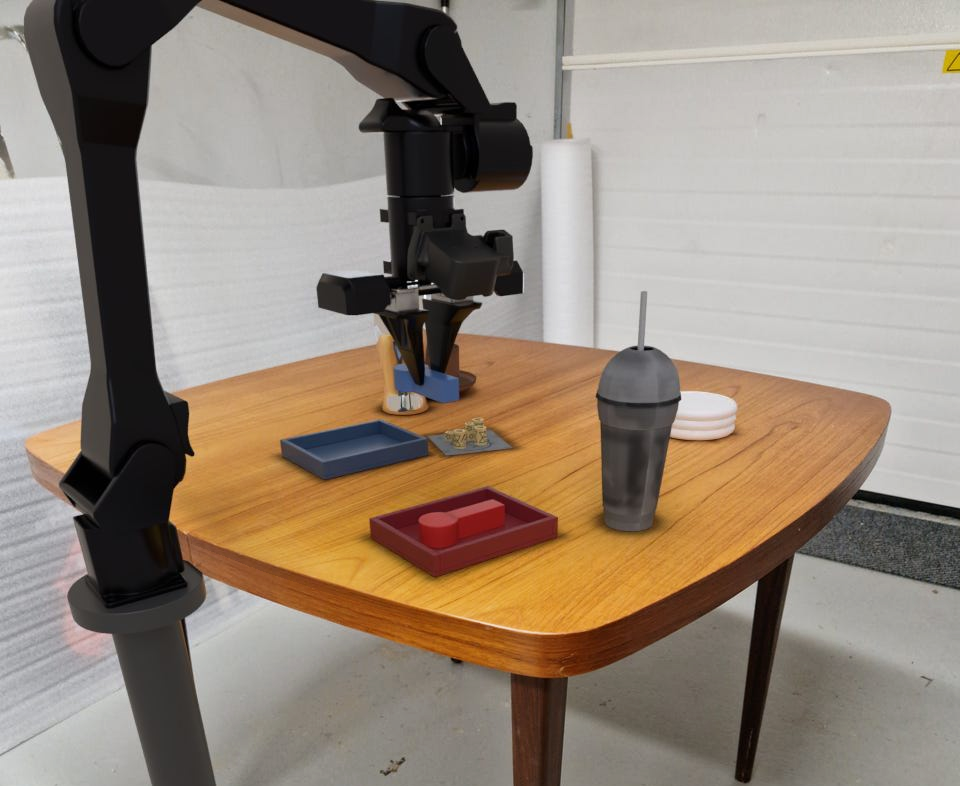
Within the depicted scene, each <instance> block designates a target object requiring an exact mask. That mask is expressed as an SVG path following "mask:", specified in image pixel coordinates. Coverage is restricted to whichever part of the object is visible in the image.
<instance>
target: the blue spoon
mask: <svg viewBox="0 0 960 786" xmlns="http://www.w3.org/2000/svg"><path fill="white" fill-rule="evenodd" d="M393 373H394V388H395V390H397V391H401V392H413V393H416V394H419V395H422V396H425V397H427V399H431V400H433V401H436V402H439V403H442V404H447V403H451V402H457V401H459V400H460V393H459V378H456V377H453V376H450V375H447V374H444V373H440V372H437V371H434V370H431V369H429V366H428V365H426V364H425V376H424V385H422V386H419V385H416V384H415V383H414V381H413V379H412V377H411V375H410V373H409V370H408V368H407V366H406V364H399V365H396V366H394V367H393Z"/></svg>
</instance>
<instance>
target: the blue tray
mask: <svg viewBox="0 0 960 786" xmlns="http://www.w3.org/2000/svg"><path fill="white" fill-rule="evenodd" d="M279 444H280V451H281V456H282V457H283V458H285V459H286V460H289V461H290V462H292V463H293V464H295V465H297V466H299V467H301V468H303V470H305V471H307V472H309V473H312V474H313V475H315V476H317V477H318V478H320V479H322V480H324V481H325V480H329V479H334V478H338V477H342V476H346V475H350V474H355V473H360V472H362V471H368V470H371V469H376V468H381V467H384V466H388V465H389V466H390V465H392V464H396V463H401V462H406V461H409V460H413V459H417V458H423V457H426V456H429V455H430V451H429V438H428V437H425V436H423V435H420V434H418V433H415V432H413V431H411V430H408V429H405V428H403V427H401V426H398V425H396V424H394V423H392V422H389V421H386V420H384V419H382V418H379V419H374V420H369V421H365V422H360V423H355V424H351V425H345V426H341V427H336V428H330V429H325V430H321V431H316V432H311V433H306V434H301V435H295V436H291V437H286V438H282V439H280V440H279Z"/></svg>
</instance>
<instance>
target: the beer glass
mask: <svg viewBox="0 0 960 786" xmlns="http://www.w3.org/2000/svg"><path fill="white" fill-rule="evenodd" d="M423 298H427V295H422V296H419V308H420V309H423V304H422V299H423ZM372 326H373V335H374V342H375V347H376V351H377V356H378V360H379V363H380V368H381V372H382V379H383V395H382V396H383V397H382V407H381V408H382V411H383V412H384V413H386V414H389V415H396V416H411V415H417V414H422V413H424V412H426V411H428V409H429V402H428V398H427V397H425V396H422V395H419V394H416V393H413V392H401V391H397V390H395V388H394V373H393V367H394V366H396V365H399V364H405V362H404V360H403V358H402V356H401V354H400V352H399V350H398V347H397V346H396V344H395V342H394V340H393V338H392V336H391V335H390V333H389V331H388V330H387V328H386V326H385V325H384V323H383V321H382V320H381V318H380V317H379V315H378V314H374V313H372ZM423 345H424V362H426V355H427V346H428V345H427V337H426V329H425V323H424V325H423Z"/></svg>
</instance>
